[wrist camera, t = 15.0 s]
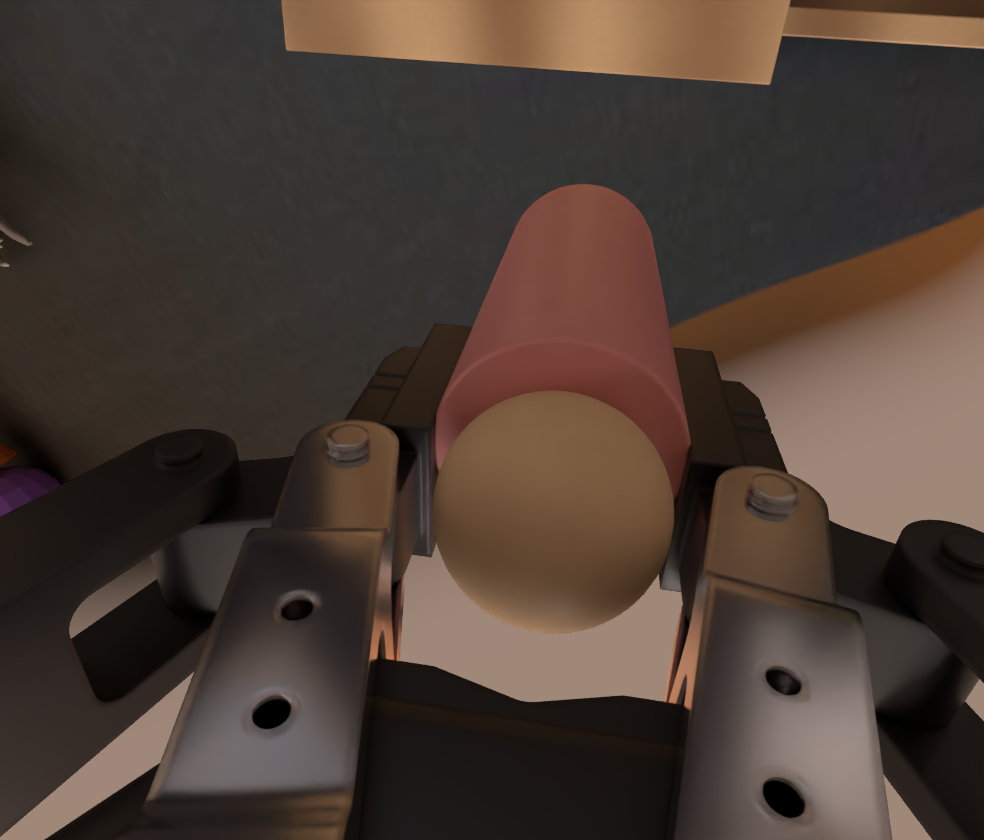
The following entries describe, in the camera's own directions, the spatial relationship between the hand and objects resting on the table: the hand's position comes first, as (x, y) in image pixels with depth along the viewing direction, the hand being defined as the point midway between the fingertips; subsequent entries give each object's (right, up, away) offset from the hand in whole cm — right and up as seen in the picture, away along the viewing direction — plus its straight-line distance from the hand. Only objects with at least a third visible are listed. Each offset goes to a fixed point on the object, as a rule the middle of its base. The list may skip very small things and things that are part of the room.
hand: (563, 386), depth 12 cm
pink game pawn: (+1, +3, +4) cm, 5 cm away
